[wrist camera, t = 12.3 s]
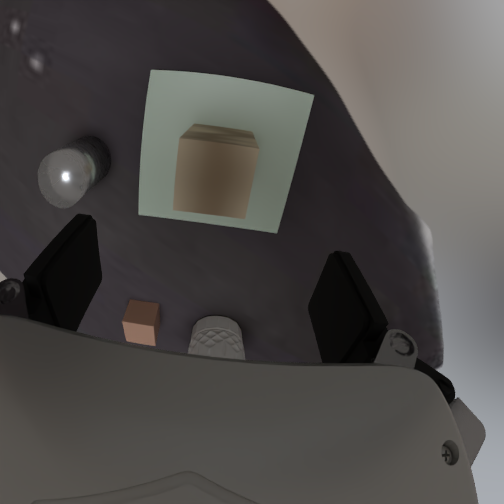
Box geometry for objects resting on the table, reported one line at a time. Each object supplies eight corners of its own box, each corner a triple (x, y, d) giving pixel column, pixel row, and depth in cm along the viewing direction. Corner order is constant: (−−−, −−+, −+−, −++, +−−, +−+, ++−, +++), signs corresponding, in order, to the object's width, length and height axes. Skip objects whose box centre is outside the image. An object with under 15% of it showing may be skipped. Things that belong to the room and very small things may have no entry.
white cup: (204, 303, 34) (199, 371, 26) (256, 324, 37) (262, 388, 29) (180, 336, 38) (172, 397, 29) (227, 353, 40) (228, 411, 32)
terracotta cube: (159, 303, 34) (153, 326, 31) (160, 323, 36) (155, 346, 33) (130, 298, 33) (122, 321, 30) (133, 319, 35) (126, 341, 32)
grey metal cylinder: (111, 136, 22) (82, 152, 17) (110, 184, 25) (85, 210, 20) (69, 135, 21) (36, 152, 16) (70, 181, 24) (41, 205, 19)
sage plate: (311, 94, 21) (314, 95, 20) (275, 228, 29) (276, 233, 28) (154, 70, 19) (151, 69, 18) (141, 210, 26) (138, 214, 26)
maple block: (252, 131, 22) (259, 148, 16) (241, 184, 25) (245, 219, 19) (194, 123, 21) (179, 138, 16) (187, 177, 24) (172, 210, 18)
